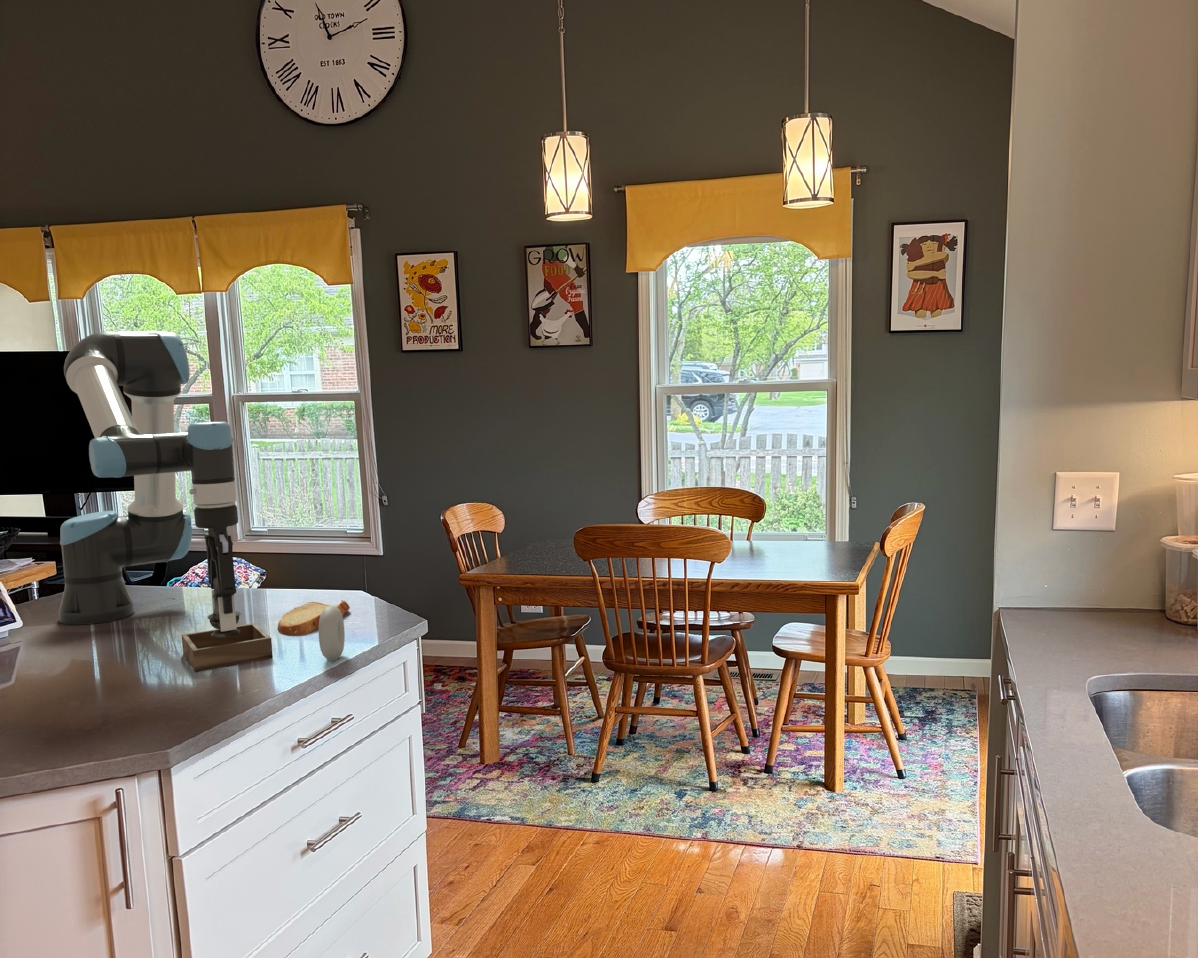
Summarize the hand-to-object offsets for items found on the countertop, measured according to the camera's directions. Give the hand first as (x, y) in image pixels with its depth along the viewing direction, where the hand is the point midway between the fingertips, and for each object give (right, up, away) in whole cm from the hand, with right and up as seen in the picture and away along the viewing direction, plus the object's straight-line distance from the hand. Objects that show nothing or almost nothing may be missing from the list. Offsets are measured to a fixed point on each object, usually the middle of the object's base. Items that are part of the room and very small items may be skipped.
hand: (225, 626), depth 183 cm
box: (0, -6, +1) cm, 6 cm away
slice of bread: (+10, -3, +26) cm, 28 cm away
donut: (+21, -6, -3) cm, 22 cm away
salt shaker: (0, -2, 0) cm, 2 cm away
